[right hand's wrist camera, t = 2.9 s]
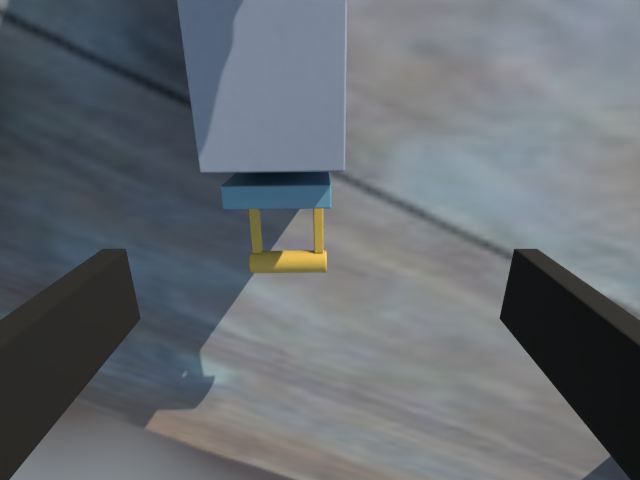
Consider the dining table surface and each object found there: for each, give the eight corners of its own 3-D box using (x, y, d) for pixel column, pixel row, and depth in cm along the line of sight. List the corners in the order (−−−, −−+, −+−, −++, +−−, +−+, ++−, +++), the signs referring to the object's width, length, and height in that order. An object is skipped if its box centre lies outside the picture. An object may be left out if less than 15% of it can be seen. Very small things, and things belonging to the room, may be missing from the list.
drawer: (328, 242, 29) (331, 306, 20) (260, 243, 29) (233, 307, 20) (326, -181, 20) (330, -410, 11) (228, -179, 20) (152, -405, 11)
